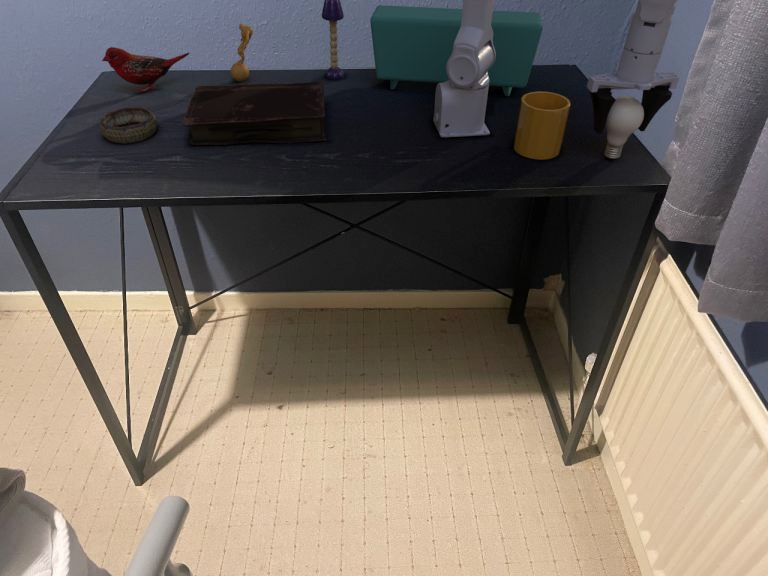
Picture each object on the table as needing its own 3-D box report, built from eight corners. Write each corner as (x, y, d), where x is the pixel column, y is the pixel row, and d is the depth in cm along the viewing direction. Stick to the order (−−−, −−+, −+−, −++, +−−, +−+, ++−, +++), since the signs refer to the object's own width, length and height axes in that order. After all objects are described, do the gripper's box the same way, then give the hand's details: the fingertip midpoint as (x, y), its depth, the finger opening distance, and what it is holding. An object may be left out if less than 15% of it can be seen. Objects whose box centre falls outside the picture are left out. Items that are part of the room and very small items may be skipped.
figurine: (232, 74, 131) (222, 18, 123) (258, 73, 132) (251, 17, 124) (232, 88, 125) (222, 30, 117) (260, 86, 125) (252, 29, 118)
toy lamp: (349, 75, 131) (347, -4, 120) (338, 82, 128) (334, 1, 117) (332, 71, 133) (328, -8, 122) (320, 77, 130) (315, -3, 119)
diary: (201, 107, 117) (196, 82, 114) (324, 102, 119) (322, 78, 116) (187, 149, 103) (181, 123, 100) (326, 143, 105) (325, 117, 102)
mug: (568, 156, 102) (579, 107, 96) (527, 162, 100) (536, 113, 95) (538, 129, 110) (547, 83, 104) (499, 135, 108) (506, 88, 102)
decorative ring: (165, 121, 112) (113, 121, 112) (161, 105, 110) (108, 105, 110) (150, 145, 104) (95, 146, 104) (145, 128, 102) (89, 129, 102)
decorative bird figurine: (111, 96, 121) (96, 47, 115) (193, 79, 128) (183, 32, 122) (115, 101, 119) (100, 51, 113) (197, 83, 127) (188, 36, 120)
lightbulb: (631, 168, 99) (651, 107, 92) (593, 164, 100) (610, 103, 93) (627, 151, 104) (646, 92, 97) (591, 148, 105) (607, 88, 98)
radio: (527, 82, 128) (540, 10, 118) (530, 101, 121) (543, 25, 111) (377, 73, 132) (377, 2, 122) (370, 91, 124) (369, 17, 114)
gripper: (609, 59, 86) (587, 142, 95) (700, 55, 87) (670, 138, 96) (590, 43, 91) (571, 124, 100) (676, 40, 93) (650, 120, 101)
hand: (618, 129), depth 98 cm, fingers open, 7 cm apart
